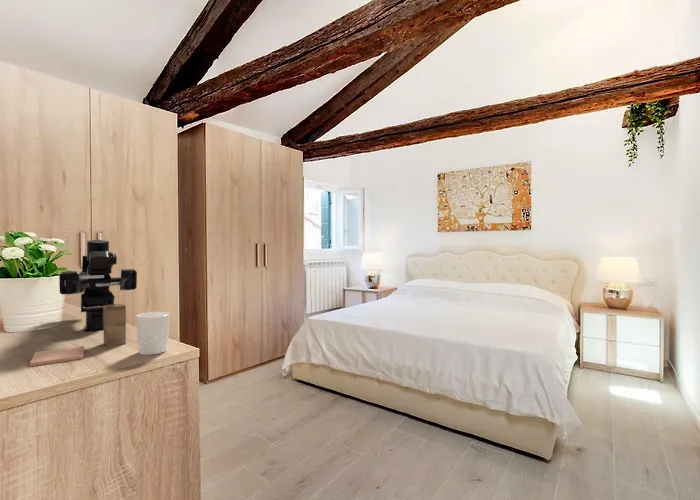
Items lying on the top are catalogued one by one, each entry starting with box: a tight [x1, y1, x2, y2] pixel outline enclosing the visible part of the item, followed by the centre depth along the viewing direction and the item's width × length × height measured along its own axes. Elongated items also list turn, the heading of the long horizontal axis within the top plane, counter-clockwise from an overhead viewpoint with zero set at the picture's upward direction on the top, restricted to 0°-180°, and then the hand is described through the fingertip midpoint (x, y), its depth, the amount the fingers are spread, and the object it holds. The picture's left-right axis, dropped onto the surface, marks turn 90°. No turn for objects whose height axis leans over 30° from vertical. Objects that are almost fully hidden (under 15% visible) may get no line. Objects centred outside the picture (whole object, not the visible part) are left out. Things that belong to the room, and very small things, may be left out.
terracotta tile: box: [29, 345, 85, 367], centre depth 89 cm, size 10×10×1 cm
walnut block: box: [103, 303, 127, 348], centre depth 101 cm, size 4×4×11 cm
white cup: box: [135, 311, 171, 356], centre depth 94 cm, size 8×8×10 cm
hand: (102, 289), depth 99 cm, fingers open, 9 cm apart
